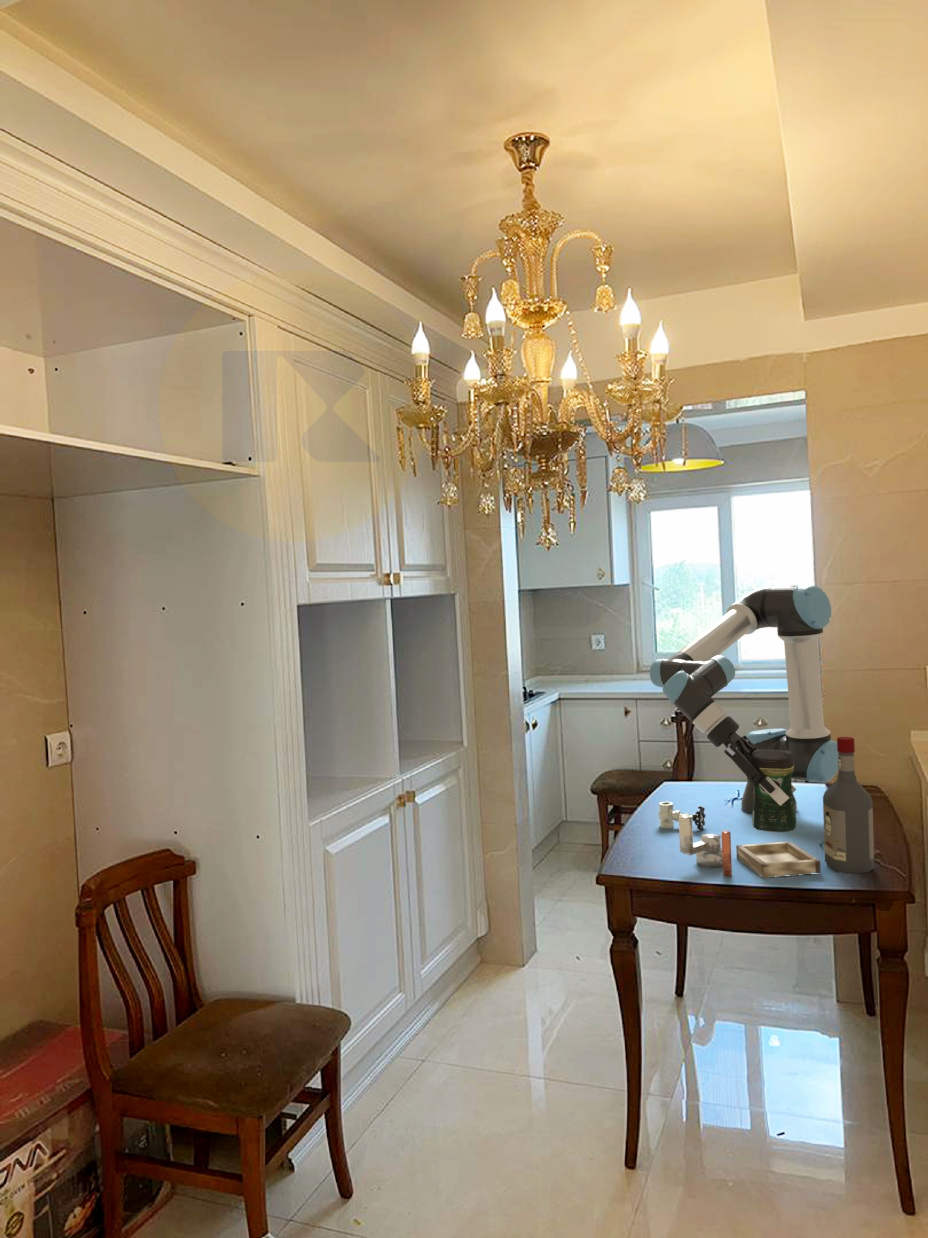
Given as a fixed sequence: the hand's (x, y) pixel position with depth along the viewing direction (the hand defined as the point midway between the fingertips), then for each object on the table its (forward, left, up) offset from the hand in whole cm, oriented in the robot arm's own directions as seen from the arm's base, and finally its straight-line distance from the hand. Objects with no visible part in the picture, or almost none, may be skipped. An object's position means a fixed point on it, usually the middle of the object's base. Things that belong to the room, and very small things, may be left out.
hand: (788, 797), depth 209 cm
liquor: (-13, +3, -17) cm, 21 cm away
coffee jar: (+3, -2, -8) cm, 9 cm away
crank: (+20, -5, -13) cm, 24 cm away
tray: (+2, -2, -17) cm, 17 cm away
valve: (+13, -38, -17) cm, 44 cm away
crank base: (+16, -4, -17) cm, 24 cm away
